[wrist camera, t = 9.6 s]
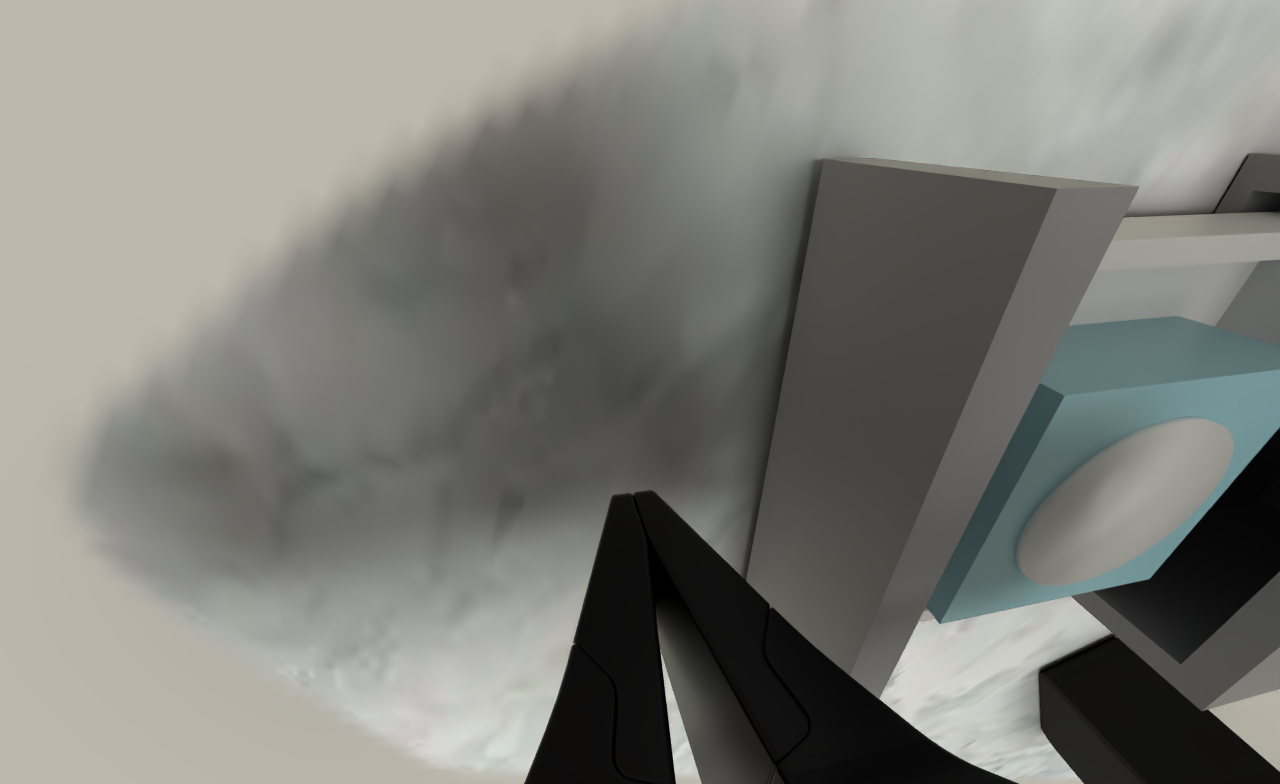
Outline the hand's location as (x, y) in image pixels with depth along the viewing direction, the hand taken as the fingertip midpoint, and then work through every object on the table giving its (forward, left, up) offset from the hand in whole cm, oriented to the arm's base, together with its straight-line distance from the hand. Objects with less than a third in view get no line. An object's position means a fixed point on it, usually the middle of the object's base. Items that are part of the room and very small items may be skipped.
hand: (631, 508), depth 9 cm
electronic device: (-25, +20, -2) cm, 32 cm away
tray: (-10, 0, -2) cm, 10 cm away
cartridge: (-10, 0, -1) cm, 10 cm away
